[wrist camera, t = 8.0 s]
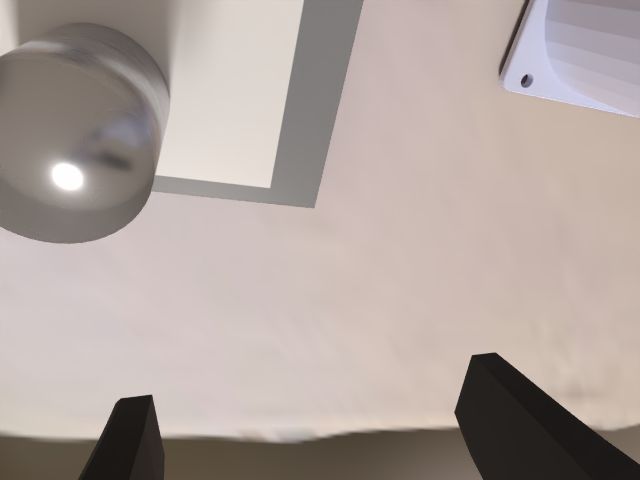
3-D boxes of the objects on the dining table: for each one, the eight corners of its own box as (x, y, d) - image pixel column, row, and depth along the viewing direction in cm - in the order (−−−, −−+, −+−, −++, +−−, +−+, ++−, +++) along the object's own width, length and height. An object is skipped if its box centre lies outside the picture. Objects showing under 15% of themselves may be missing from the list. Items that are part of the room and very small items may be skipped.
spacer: (173, 39, 13) (158, 80, 9) (166, 167, 15) (150, 250, 11) (15, 7, 12) (-86, 38, 8) (28, 151, 14) (-47, 236, 10)
